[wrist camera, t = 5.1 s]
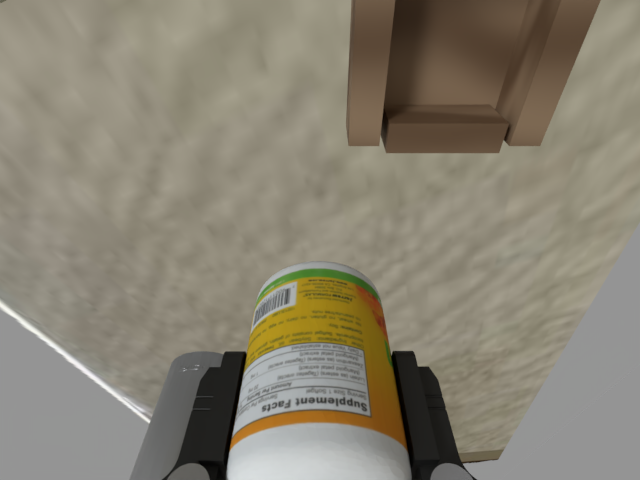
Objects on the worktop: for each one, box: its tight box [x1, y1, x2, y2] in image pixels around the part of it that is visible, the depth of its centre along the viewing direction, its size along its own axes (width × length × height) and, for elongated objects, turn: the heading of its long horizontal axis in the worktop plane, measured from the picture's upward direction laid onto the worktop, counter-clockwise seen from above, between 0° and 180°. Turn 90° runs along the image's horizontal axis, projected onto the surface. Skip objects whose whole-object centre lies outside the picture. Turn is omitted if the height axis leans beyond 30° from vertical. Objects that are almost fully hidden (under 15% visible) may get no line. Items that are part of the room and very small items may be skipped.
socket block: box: [346, 0, 601, 153], centre depth 18 cm, size 11×11×3 cm
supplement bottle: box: [226, 261, 412, 480], centre depth 12 cm, size 5×5×10 cm
